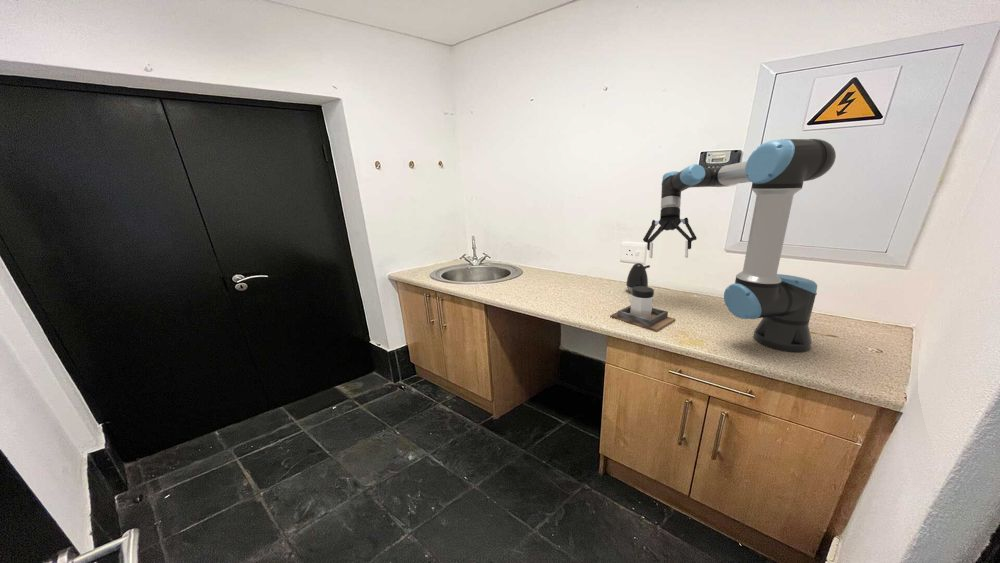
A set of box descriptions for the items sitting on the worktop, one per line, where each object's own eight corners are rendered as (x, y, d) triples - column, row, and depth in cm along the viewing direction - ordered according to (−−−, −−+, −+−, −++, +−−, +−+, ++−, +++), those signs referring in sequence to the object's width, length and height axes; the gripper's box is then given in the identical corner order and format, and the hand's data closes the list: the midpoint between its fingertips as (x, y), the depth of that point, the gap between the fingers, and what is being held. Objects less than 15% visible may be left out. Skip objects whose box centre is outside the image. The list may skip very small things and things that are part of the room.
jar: (650, 322, 132) (653, 293, 128) (628, 319, 135) (631, 291, 132) (651, 314, 139) (654, 286, 136) (630, 311, 143) (633, 284, 139)
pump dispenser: (648, 295, 164) (651, 266, 160) (625, 294, 168) (628, 265, 163) (646, 289, 173) (649, 261, 169) (625, 288, 177) (627, 260, 173)
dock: (675, 321, 134) (676, 313, 133) (656, 332, 125) (657, 323, 124) (629, 308, 149) (630, 301, 148) (610, 317, 140) (610, 309, 139)
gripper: (704, 208, 139) (703, 258, 137) (641, 213, 153) (638, 259, 151) (703, 202, 133) (701, 254, 131) (637, 208, 147) (635, 256, 145)
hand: (668, 257), depth 141 cm, fingers open, 13 cm apart
